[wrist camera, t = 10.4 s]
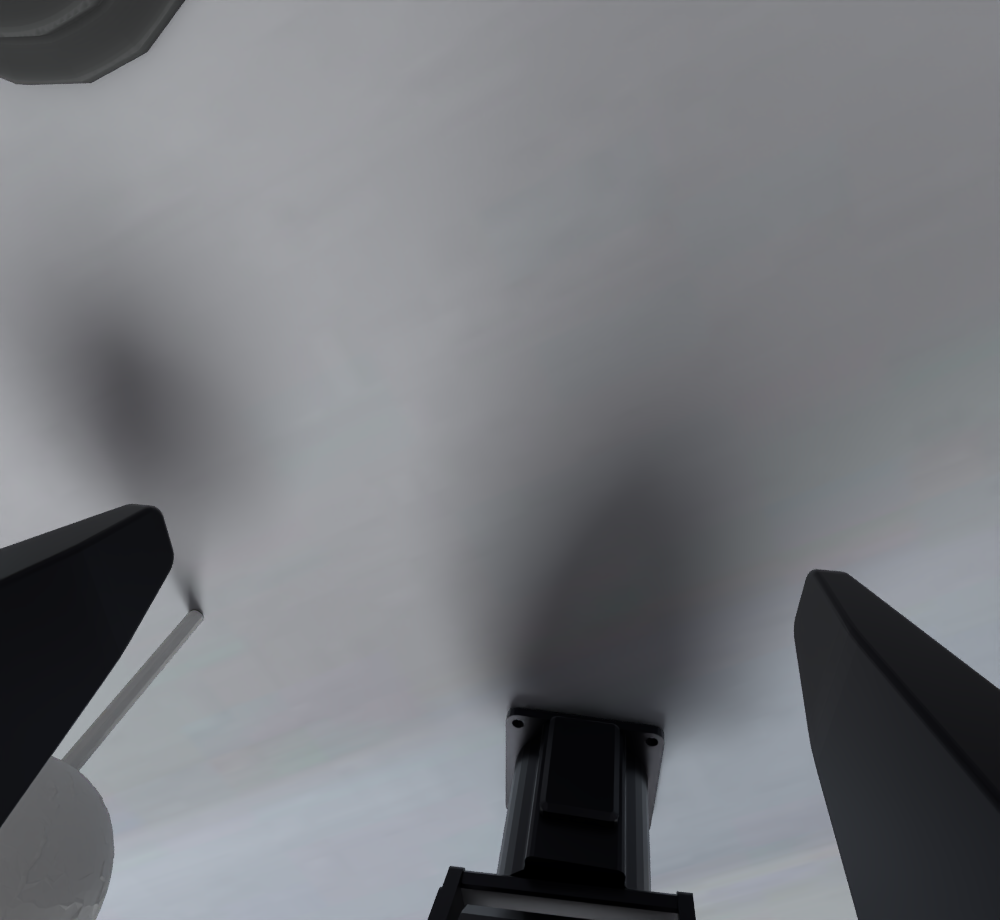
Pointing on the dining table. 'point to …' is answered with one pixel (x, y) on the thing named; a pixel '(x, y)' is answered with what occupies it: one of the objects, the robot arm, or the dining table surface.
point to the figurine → (76, 37)
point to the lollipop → (71, 818)
